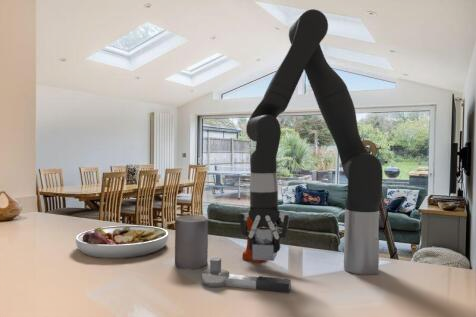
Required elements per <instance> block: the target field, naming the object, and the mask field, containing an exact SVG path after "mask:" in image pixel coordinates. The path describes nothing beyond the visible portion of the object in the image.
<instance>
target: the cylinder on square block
mask: <svg viewBox="0 0 476 317" xmlns="http://www.w3.org/2000/svg"><path fill="white" fill-rule="evenodd" d="M274 239H275V237H274V235H273V232H272V229H270V228H266V227H257V228H256V229H255V233H254V243H253V244H252V250H253V260H266V261H273V262H274V261H275V258H276V257H277V256H278V255H277V254H278V252H277V253H275V252H274Z"/></svg>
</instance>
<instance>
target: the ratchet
mask: <svg viewBox="0 0 476 317" xmlns="http://www.w3.org/2000/svg"><path fill="white" fill-rule="evenodd" d="M201 284H202V286H204V285H205V286H204V287H208V288H222V287H232V288H233V287H234V288H242V289H243V288H244V289H251V290H256V291H257V290H258V291H267V292H275V293H282V294H283V293H284V294H290V291H291V288H292V287H291V286H292V280H291V278H282V277H281V278H280V277H271V276H263V275H261V276H260V275H259V276H251V275H242V274H231V273H230V271H229V270H226V269H225V268H222V258H220V257H212V258H211V259H210V260H209V268H208V269H205V270H203V271H202V272H201Z"/></svg>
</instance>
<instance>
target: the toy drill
mask: <svg viewBox="0 0 476 317" xmlns="http://www.w3.org/2000/svg"><path fill="white" fill-rule="evenodd" d="M296 222H297V219H296V218H289V223H296ZM253 223H254V222H253V221H252V220H251V218H250V217H249V216H248V220H247V227H248V231H251V228H252V225H253ZM275 223H276V225H277V226H280V225H281V224H283V222H282V221H281V218H280V217H279V218H278V219H277V220H276V222H275ZM246 241H247V242H246V247H245V248H246V249H245V250H244V251H243V252H242V255H241V256H242V259H243V260H244V261H246V262H252V263H263V262H266V261H267V260H253V252H252V250H250V248H249V237H248V236H246Z"/></svg>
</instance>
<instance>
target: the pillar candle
mask: <svg viewBox="0 0 476 317" xmlns="http://www.w3.org/2000/svg"><path fill="white" fill-rule="evenodd" d="M174 225H175V227H174V229H175V230H174V265H175V266H176V267H177V268H180V269H186V268H188V269H191V268H192V269H193V268H194V269H200V268H203V267H205V266H207V265H208V256H209V254H208V252H209V251H208V249H209V248H208V247H209V246H208V245H209V235H208V234H209V233H208V232H209V230H208V228H209V217H207V216H205V215H201V214H200V215H199V214H193V213H191V214H187V215H186V214H185V215H180V216H176V217H175V222H174Z"/></svg>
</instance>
